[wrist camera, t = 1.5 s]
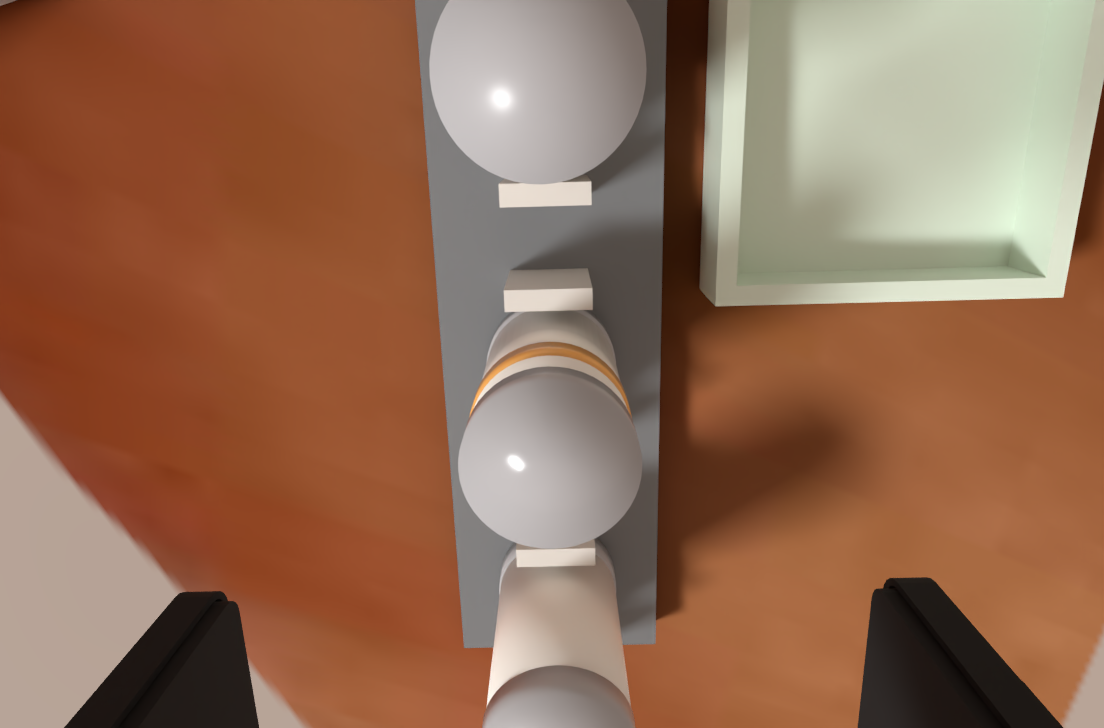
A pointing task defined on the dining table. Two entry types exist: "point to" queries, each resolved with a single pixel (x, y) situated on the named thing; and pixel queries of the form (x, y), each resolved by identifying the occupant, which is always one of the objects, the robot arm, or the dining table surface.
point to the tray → (895, 148)
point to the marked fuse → (550, 433)
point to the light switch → (5, 1)
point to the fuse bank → (550, 308)
